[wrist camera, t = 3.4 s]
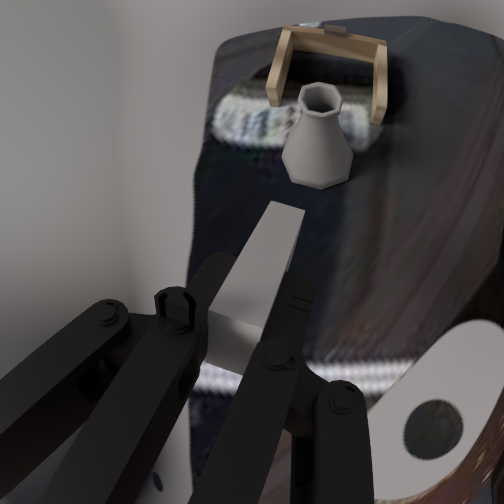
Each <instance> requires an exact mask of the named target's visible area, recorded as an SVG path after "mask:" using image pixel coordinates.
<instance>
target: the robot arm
mask: <svg viewBox="0 0 504 504" xmlns="http://www.w3.org/2000/svg"><path fill="white" fill-rule="evenodd" d="M304 213H305V210H301V209H298V208H295V207H291V206H288V205H284V204H281V203H277V202H274V201H271V202H270V204H269V206H268V207H267V209H266V211H265V212H264V214H263V216H262V218H261V219H260V221H259V223H258V224H257V226H256V228H255V230H254V231H253V233H252V235H251V236H250V238H249V240H248V242H247V243H246V245H245V247H244V248H243V250H242V252H241V254H240V255H239V257H235V256H232V255H229V254H226V253H223V252H220V251H217V252H216V253H214V254H212V255H210V256H209V257H207V258H206V260H205V261H204V263H203V264H202V265H201V267H200V269H199V270H198V271H197V272H196V274H195V276H194V277H193V278H192V280H191V281H190V282H189V284H188V285H187V287H186V288H184V287H179V286H176V287H168V288H165V289H163V290H160V291H159V292H158V293H157V294H156V295H155V296H154V298H155V306H156V314H155V315H144V314H136V313H128V309H127V308H126V307H125V305H124V304H123V303H122V302H120V301H118V300H113V299H106V300H101V301H99V302H97V303H95V304H93V305H92V306H91V307H89V308H88V309H87V310H86V311H84V312H83V313H82V314H80V315H79V316H78V317H76V318H75V319H74V320H73V321H71V322H70V323H69V324H67V325H66V326H65V327H64V328H62V329H61V330H60V331H59V332H58V333H56V334H55V335H54V336H52V337H51V338H50V339H49V340H47V341H46V342H45V343H44V344H42V345H41V346H40V347H39V348H37V349H36V350H35V351H34V352H33V353H31V354H30V355H29V356H28V357H27V358H25V359H24V360H23V361H22V362H21V363H19V364H18V365H17V366H16V367H15V368H14V369H12V370H11V371H10V372H9V373H8V374H7V375H5V376H4V377H3V378H2V379H1V380H0V499H2V498H3V497H4V496H6V495H7V494H8V493H9V492H11V491H12V490H13V489H14V488H15V487H16V486H17V485H18V484H19V483H20V482H21V481H23V480H24V479H25V477H27V476H28V475H29V474H30V473H31V472H32V471H33V470H34V469H35V468H36V467H38V466H39V465H40V464H41V463H42V462H43V461H44V460H45V459H46V458H47V457H48V456H49V455H50V454H52V453H53V452H54V451H55V450H56V449H57V448H58V447H59V446H60V445H61V444H62V443H63V442H64V441H65V440H66V439H67V438H69V437H70V436H71V435H72V434H73V433H74V432H75V431H76V430H77V429H78V428H79V427H80V426H81V425H82V424H84V422H86V423H85V424H84V426H83V428H82V429H81V431H80V432H79V434H78V436H77V438H76V439H75V441H74V442H73V444H72V446H71V447H70V449H69V450H68V452H67V454H66V455H65V457H64V459H63V461H62V462H61V464H60V466H59V467H58V469H57V471H56V472H55V474H54V476H53V477H52V479H51V481H50V483H49V485H48V486H47V488H46V490H45V492H44V493H43V495H42V497H41V499H40V501H39V502H38V504H134V503H135V501H136V499H137V497H138V495H139V493H140V491H141V490H142V488H143V486H144V484H145V481H146V480H147V478H148V476H149V474H150V472H151V470H152V468H153V466H154V464H155V462H156V460H157V458H158V456H159V454H160V452H161V450H162V448H163V446H164V444H165V443H166V441H167V439H168V437H169V435H170V433H171V431H172V429H173V427H174V425H175V423H176V421H177V419H178V416H179V415H180V413H181V411H182V409H183V407H184V405H185V403H186V401H187V399H188V397H189V395H190V393H191V391H192V389H193V387H194V385H195V383H196V381H197V379H198V377H199V373H200V366H201V364H202V362H203V360H204V358H205V356H206V362H207V363H210V364H212V365H215V366H218V367H220V368H223V369H226V370H229V371H231V372H234V373H237V374H240V375H243V377H242V380H241V382H240V385H239V387H238V390H237V392H236V394H235V397H234V399H233V402H232V404H231V406H230V409H229V411H228V414H227V416H226V418H225V421H224V423H223V425H222V428H221V430H220V432H219V435H218V437H217V439H216V442H215V444H214V446H213V449H212V451H211V453H210V455H209V458H208V460H207V462H206V464H205V467H204V469H203V471H202V473H201V476H200V478H199V480H198V482H197V484H196V487H195V489H194V491H193V493H192V495H191V497H190V500H189V502H188V504H258V501H259V498H260V496H261V493H262V490H263V487H264V484H265V482H266V479H267V476H268V473H269V470H270V467H271V464H272V461H273V458H274V455H275V452H276V449H277V446H278V443H279V440H280V436H281V433H282V430H283V429H285V430H286V431H288V432H289V433H291V434H292V443H291V483H290V504H374V488H373V472H372V458H371V447H370V437H369V427H368V418H367V410H366V402H365V399H364V396H363V393H362V392H361V391H360V389H359V388H358V387H357V386H356V385H354V384H352V383H351V382H348V381H344V380H336V381H331V382H330V383H329V382H328V381H326V380H324V379H323V378H321V377H320V376H318V375H316V374H315V373H314V372H313V371H311V370H310V369H309V367H308V366H307V365H306V363H305V361H304V359H303V354H302V349H303V344H304V340H305V335H306V331H307V327H308V323H309V319H310V313H311V310H312V305H313V301H314V296H315V292H316V291H315V287H314V284H313V281H312V279H309V278H306V277H302V276H299V275H296V274H293V273H289V272H287V271H288V268H289V265H290V262H291V259H292V256H293V252H294V249H295V245H296V242H297V238H298V235H299V231H300V227H301V224H302V220H303V217H304Z"/></svg>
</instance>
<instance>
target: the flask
mask: <svg viewBox="0 0 504 504" xmlns="http://www.w3.org/2000/svg"><path fill="white" fill-rule="evenodd" d="M298 102H299V104H300V106H301V108H302V110H303V115H302V116H301V118H300V119H299V121H298V122H297V124H296V125H295V126H294V127H293V128H292V130H291V131H290V132H289V135H288V138H287V141H286V144H285V147H284V150H283V153H282V156H281V158H282V160H283V162H284V165H285V167H286V169H287V172H288V174H289V176H290V179H291V181H292V182H294V183H298V184H301V185H305V186H309V187H312V188H316V189H320V190H322V189H325V188H327V187H330V186H333V185H336V184H339V183H342V182H344V181H347V180H348V178H349V174H350V169H351V165H352V160H353V156H354V154H353V152H352V150H351V148H350V146H349V144H348V142H347V140H346V138H345V136H344V134H343V132H342V130H341V127H340V125H339V120H338V115H339V114H340V110H341V106H342V102H343V97H342V96H341V94H340V93H339V91H338V89H337V88H336V86H334V85H330V84H326V83H321V82H316V83H312V84H309V85H305V86H302V88H301V91H300V94H299V97H298Z"/></svg>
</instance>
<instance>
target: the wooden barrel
mask: <svg viewBox="0 0 504 504" xmlns="http://www.w3.org/2000/svg"><path fill="white" fill-rule="evenodd" d="M491 483H492V484H491V492H492V504H504V451H503V453H502V456H501V458H500V460H499V462H498V464H497V466H496V468H495V470H494V472H493V474H492V476H491Z"/></svg>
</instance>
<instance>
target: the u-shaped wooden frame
mask: <svg viewBox="0 0 504 504" xmlns="http://www.w3.org/2000/svg"><path fill="white" fill-rule="evenodd" d="M293 50H298V51H307V52H315V53H322V54H329V55H335V56H341V57H347V58H352V59H357V60H362V61H367V62H371V63H374V80H373V103H372V119H371V123H372V124H376V125H380V124H381V122H382V119H383V117H384V114H385V112H386V109H387V46H386V41H383V40H379V39H375V38H370V37H366V36H361V35H356V34H350V33H346V27H340V26H333V25H326V24H325V28H324V29H317V28H308V27H298V26H285V25H284V27H283V31H282V34H281V37H280V40H279V44H278V47H277V50H276V54H275V57H274V60H273V64H272V67H271V70H270V74H269V77H268V81H267V84H266V91H267V95H268V99H269V104H270V106H274V107H279V105H280V101H281V97H282V93H283V89H284V85H285V81H286V77H287V73H288V69H289V65H290V61H291V57H292V53H293Z"/></svg>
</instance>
